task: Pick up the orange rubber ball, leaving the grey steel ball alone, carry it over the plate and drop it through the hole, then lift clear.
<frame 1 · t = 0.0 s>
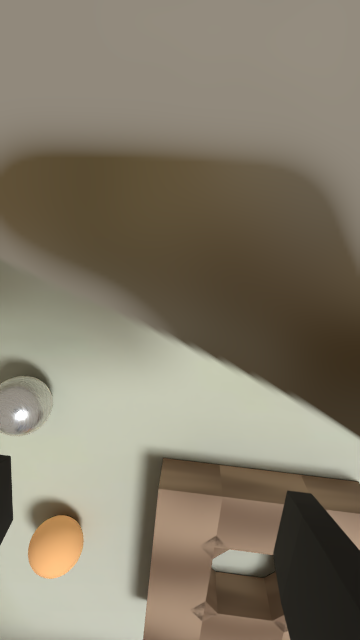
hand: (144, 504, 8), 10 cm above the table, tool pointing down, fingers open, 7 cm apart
hole plate: (245, 546, 21), on the table
ball: (56, 545, 20), point 2 cm above the table
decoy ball: (21, 405, 17), point 2 cm above the table
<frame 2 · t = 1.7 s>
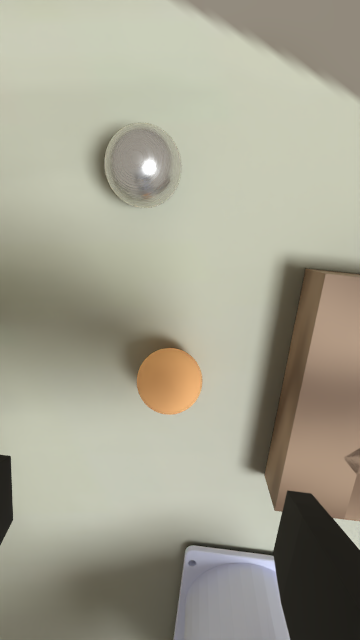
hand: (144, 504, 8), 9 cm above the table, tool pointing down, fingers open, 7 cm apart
ball: (169, 380, 16), point 2 cm above the table
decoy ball: (143, 167, 13), point 2 cm above the table
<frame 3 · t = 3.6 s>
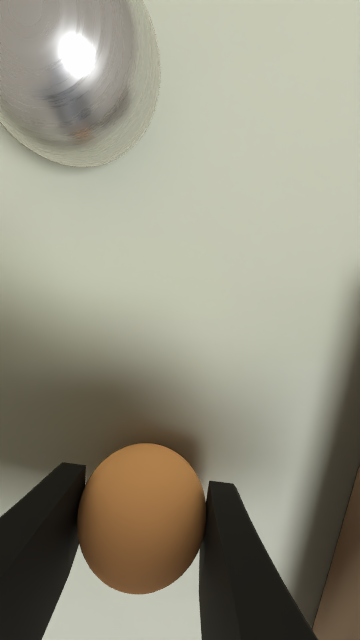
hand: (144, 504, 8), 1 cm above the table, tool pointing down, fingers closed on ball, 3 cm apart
ball: (143, 510, 8), point 2 cm above the table, touching gripper
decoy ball: (71, 68, 6), point 2 cm above the table
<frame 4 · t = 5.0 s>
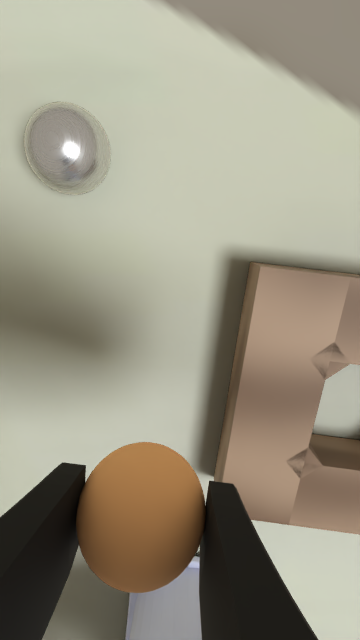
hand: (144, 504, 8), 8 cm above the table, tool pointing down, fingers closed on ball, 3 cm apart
hole plate: (347, 394, 16), on the table
ball: (142, 509, 8), point 9 cm above the table, touching gripper
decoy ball: (69, 151, 12), point 2 cm above the table
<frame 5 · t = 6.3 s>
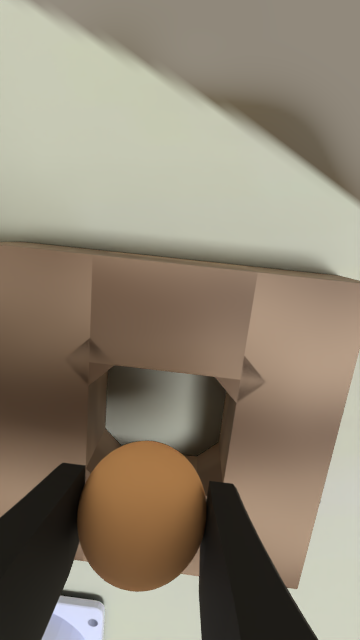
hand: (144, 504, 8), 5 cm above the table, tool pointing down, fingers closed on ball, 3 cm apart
hole plate: (164, 401, 13), on the table
ball: (143, 508, 8), point 6 cm above the table, touching gripper
when the fingers open (5 cm above the table, at t = 6.9 s): ball drops 4 cm, point 2 cm above the table.
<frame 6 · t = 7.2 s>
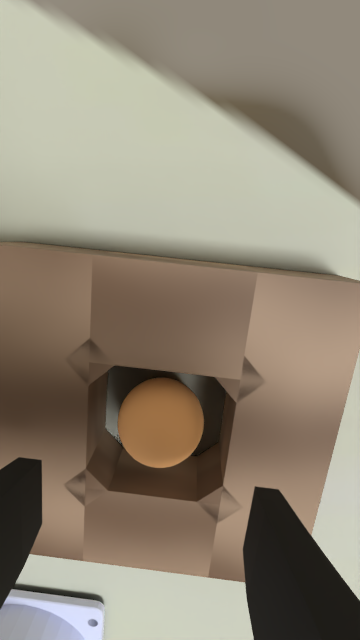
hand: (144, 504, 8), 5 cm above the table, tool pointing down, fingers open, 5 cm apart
hole plate: (164, 401, 13), on the table
ball: (161, 420, 12), point 2 cm above the table
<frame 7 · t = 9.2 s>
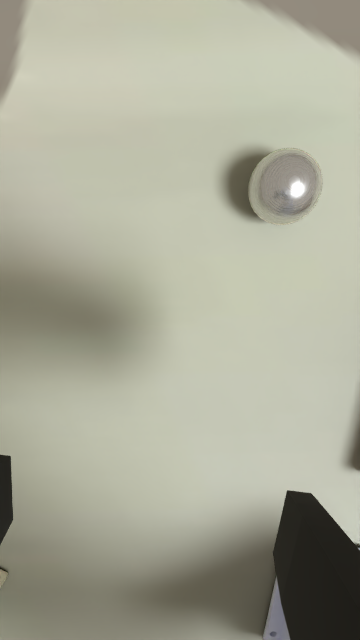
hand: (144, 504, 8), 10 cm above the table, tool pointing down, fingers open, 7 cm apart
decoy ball: (283, 188, 14), point 2 cm above the table
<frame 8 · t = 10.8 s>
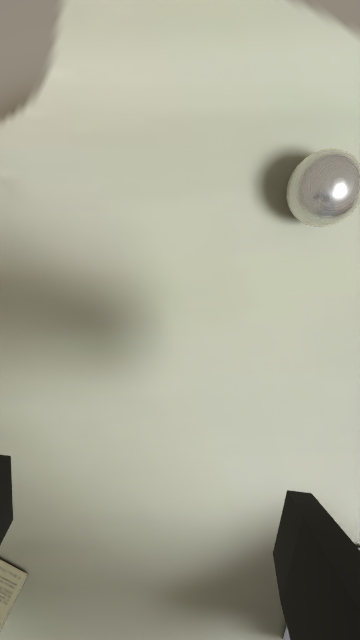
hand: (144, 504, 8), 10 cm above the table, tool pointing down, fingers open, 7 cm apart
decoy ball: (323, 189, 14), point 2 cm above the table
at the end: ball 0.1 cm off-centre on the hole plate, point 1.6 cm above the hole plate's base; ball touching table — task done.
